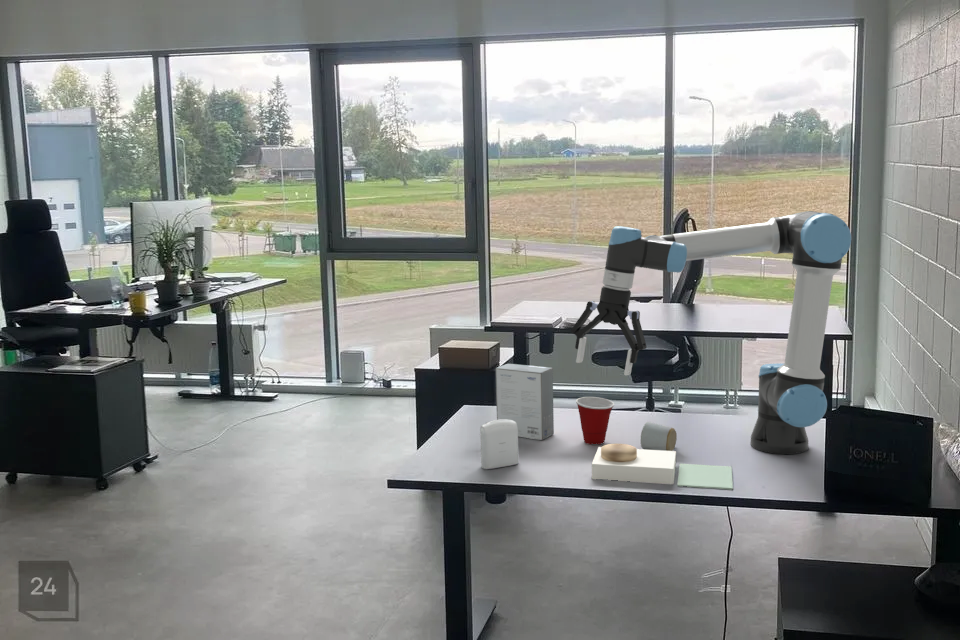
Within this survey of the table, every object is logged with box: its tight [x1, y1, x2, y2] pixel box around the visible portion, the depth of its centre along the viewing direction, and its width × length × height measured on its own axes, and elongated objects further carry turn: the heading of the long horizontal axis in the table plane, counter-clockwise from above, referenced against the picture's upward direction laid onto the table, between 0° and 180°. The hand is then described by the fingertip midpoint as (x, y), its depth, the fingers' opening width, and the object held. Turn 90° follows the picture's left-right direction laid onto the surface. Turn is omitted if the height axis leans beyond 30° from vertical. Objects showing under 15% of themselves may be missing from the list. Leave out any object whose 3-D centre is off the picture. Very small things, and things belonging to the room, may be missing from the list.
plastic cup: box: [575, 396, 615, 445], centre depth 258 cm, size 11×11×12 cm
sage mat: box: [676, 463, 734, 491], centre depth 229 cm, size 13×16×1 cm
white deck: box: [591, 446, 677, 485], centre depth 233 cm, size 20×14×4 cm
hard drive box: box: [495, 363, 555, 441], centre depth 266 cm, size 16×8×20 cm, turn 58°
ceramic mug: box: [640, 421, 678, 451], centre depth 251 cm, size 11×8×8 cm
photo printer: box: [479, 419, 519, 470], centre depth 240 cm, size 10×4×12 cm, turn 112°
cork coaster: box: [600, 443, 638, 462], centre depth 233 cm, size 9×9×2 cm
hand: (602, 368), depth 236 cm, fingers open, 13 cm apart
